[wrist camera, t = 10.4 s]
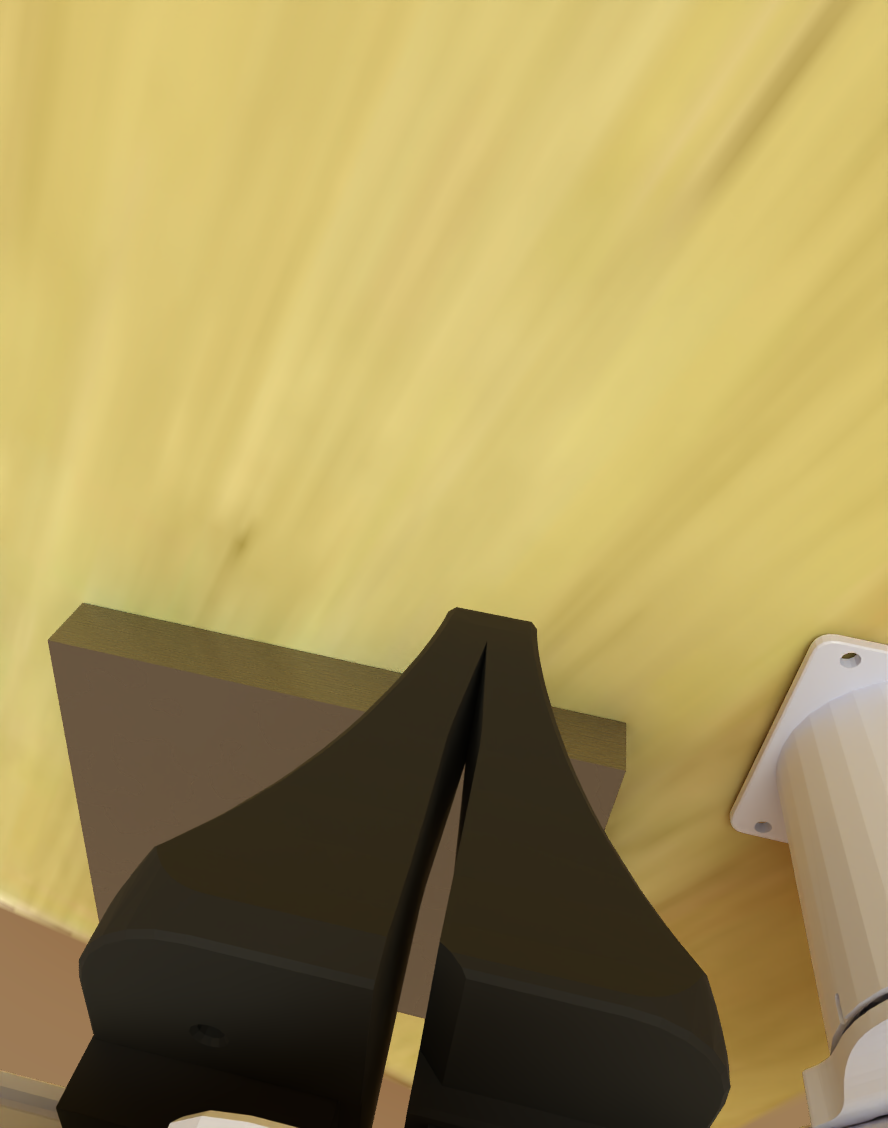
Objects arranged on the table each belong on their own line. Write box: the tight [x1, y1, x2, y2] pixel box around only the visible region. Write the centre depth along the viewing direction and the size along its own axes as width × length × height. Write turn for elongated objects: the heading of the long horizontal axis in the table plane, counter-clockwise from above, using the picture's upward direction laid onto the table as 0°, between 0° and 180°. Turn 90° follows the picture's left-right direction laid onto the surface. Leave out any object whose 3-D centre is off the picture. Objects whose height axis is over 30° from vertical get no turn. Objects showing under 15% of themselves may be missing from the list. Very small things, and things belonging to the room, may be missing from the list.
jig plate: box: [48, 603, 626, 1019], centre depth 30 cm, size 18×16×2 cm
